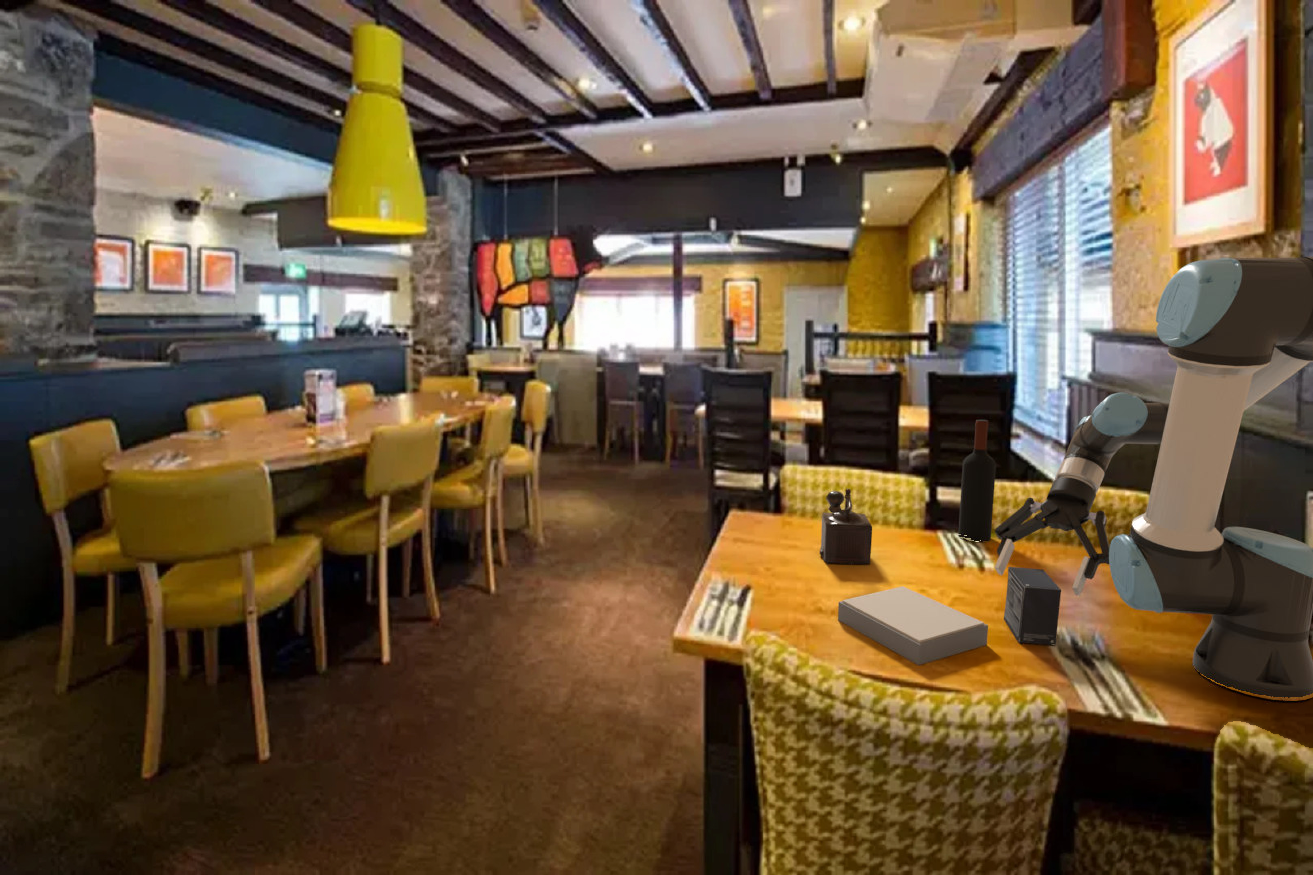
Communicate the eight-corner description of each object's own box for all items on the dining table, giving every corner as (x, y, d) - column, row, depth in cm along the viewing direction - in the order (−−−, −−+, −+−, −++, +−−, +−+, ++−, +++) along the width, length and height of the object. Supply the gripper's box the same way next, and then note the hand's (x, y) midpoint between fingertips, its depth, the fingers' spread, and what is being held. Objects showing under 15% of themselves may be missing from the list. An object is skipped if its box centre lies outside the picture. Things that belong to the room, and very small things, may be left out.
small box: (1058, 647, 127) (1064, 589, 125) (1018, 644, 128) (1022, 586, 126) (1040, 621, 137) (1044, 567, 135) (1002, 618, 138) (1006, 565, 136)
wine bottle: (956, 539, 184) (963, 421, 179) (959, 531, 191) (967, 417, 186) (989, 543, 181) (998, 423, 176) (991, 535, 187) (999, 419, 182)
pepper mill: (817, 549, 178) (819, 477, 175) (863, 550, 177) (866, 477, 174) (824, 572, 163) (826, 493, 160) (875, 573, 162) (879, 494, 159)
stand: (986, 644, 127) (988, 623, 127) (918, 665, 121) (919, 642, 120) (901, 604, 145) (902, 584, 144) (838, 620, 138) (838, 599, 138)
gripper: (1153, 510, 134) (1116, 611, 127) (1014, 486, 152) (975, 573, 145) (1146, 487, 129) (1107, 590, 122) (1004, 465, 148) (963, 553, 141)
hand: (1035, 581), depth 134 cm, fingers open, 13 cm apart
